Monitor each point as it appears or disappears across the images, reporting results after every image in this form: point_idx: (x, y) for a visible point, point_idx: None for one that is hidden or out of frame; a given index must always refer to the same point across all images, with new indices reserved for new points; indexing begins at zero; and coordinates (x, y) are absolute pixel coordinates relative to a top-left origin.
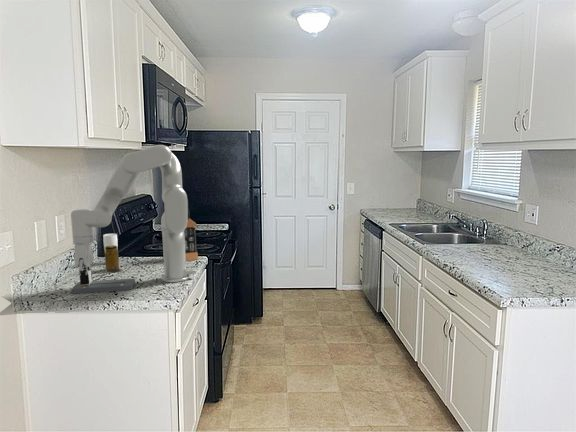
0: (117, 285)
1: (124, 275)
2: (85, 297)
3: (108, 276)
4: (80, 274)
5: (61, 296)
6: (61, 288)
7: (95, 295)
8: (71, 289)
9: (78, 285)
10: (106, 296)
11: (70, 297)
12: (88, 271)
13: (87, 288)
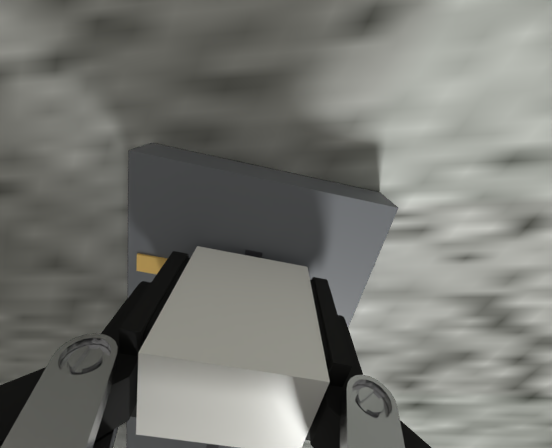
0: (141, 445)
1: (469, 444)
2: (26, 252)
3: (523, 377)
4: (60, 361)
5: (88, 40)
6: (406, 13)
7: (67, 310)
8: (132, 149)
9: (248, 214)
10: (34, 363)
11: (40, 136)
12: (250, 434)
13: (130, 286)
